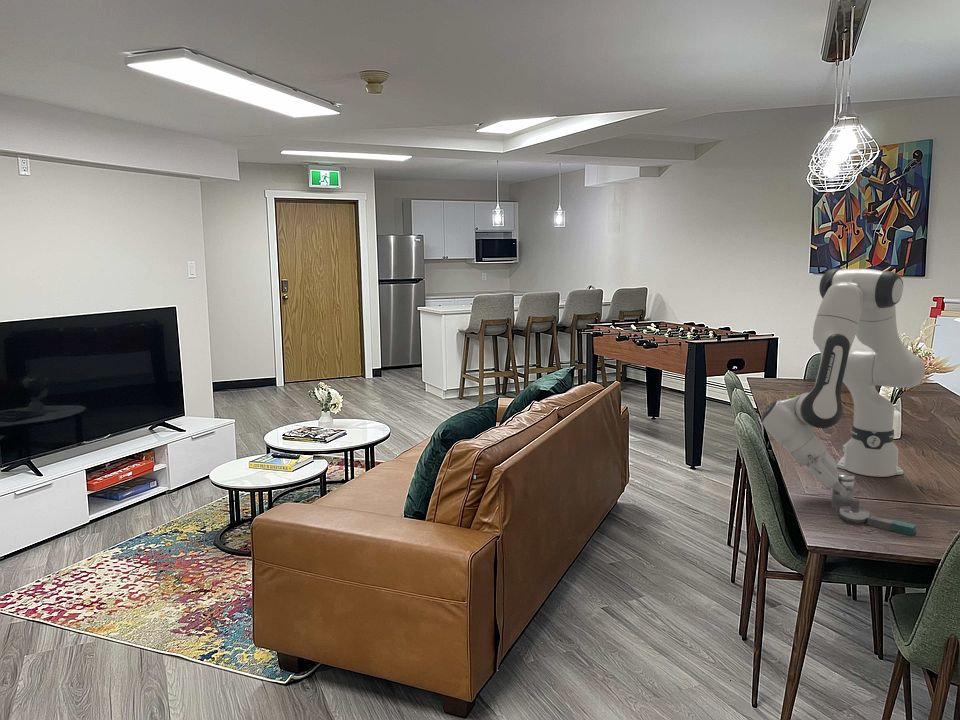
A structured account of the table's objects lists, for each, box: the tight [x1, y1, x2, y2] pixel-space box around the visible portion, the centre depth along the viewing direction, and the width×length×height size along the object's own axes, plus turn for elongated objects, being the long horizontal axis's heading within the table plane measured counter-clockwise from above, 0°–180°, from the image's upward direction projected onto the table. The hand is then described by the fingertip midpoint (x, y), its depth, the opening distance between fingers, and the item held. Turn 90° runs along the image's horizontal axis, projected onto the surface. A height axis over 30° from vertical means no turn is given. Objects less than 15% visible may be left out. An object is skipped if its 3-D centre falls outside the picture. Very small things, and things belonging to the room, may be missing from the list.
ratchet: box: [838, 498, 917, 537], centre depth 185 cm, size 18×7×6 cm, turn 46°
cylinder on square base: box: [830, 471, 856, 510], centre depth 198 cm, size 5×5×9 cm
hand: (845, 489), depth 198 cm, fingers open, 8 cm apart
